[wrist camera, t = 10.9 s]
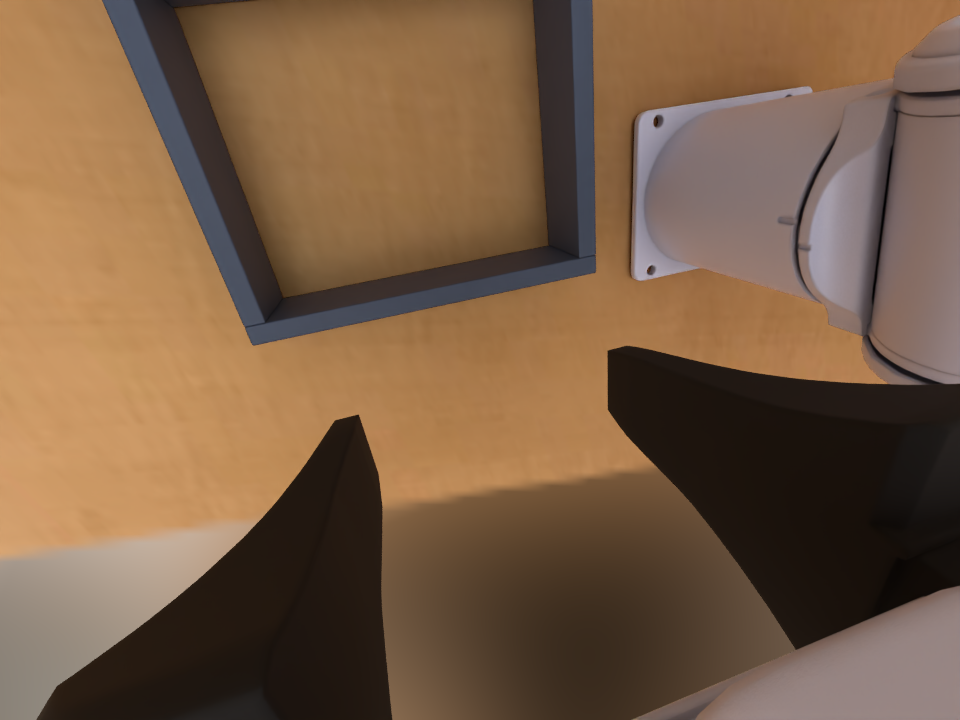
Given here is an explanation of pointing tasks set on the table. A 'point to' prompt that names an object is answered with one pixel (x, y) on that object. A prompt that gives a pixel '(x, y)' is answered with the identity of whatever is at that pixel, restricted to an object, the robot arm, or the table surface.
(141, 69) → the blue-grey rectangular frame
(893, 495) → the robot arm
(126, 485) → the table surface
